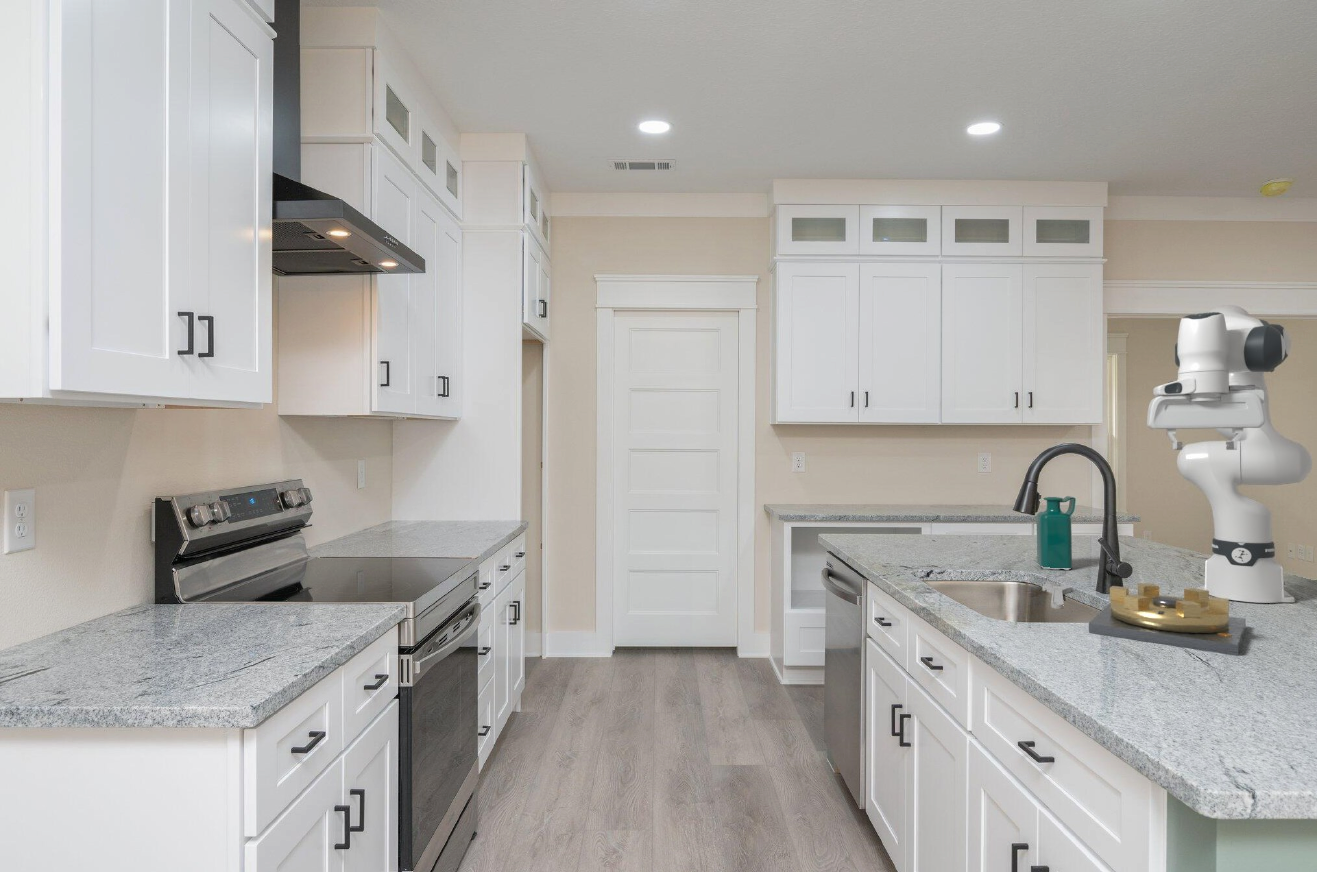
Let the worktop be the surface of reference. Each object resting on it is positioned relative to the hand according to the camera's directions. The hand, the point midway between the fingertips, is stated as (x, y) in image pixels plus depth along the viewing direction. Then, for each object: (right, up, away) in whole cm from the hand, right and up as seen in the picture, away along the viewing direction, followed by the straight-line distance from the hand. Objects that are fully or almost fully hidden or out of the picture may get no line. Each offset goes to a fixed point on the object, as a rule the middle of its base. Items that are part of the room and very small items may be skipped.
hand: (1204, 449), depth 153 cm
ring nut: (-12, -35, -6) cm, 38 cm away
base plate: (-12, -38, -6) cm, 40 cm away
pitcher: (+4, -38, +64) cm, 74 cm away
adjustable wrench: (-18, -39, +25) cm, 50 cm away
